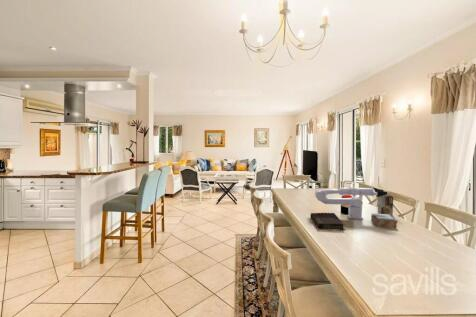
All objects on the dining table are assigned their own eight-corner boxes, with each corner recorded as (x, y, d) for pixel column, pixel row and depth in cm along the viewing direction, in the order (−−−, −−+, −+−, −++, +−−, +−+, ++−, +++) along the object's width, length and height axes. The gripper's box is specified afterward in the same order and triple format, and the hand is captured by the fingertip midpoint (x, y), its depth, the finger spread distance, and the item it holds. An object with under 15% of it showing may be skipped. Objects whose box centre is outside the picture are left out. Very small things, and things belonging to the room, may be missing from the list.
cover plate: (377, 219, 169) (377, 217, 169) (373, 215, 179) (373, 213, 179) (394, 221, 166) (394, 219, 166) (388, 216, 177) (388, 214, 177)
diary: (317, 230, 162) (317, 223, 162) (310, 218, 187) (310, 212, 187) (346, 230, 161) (346, 223, 160) (334, 219, 185) (334, 212, 185)
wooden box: (376, 226, 168) (376, 219, 167) (371, 220, 180) (371, 214, 180) (396, 228, 165) (396, 220, 164) (389, 222, 177) (390, 215, 177)
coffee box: (388, 213, 199) (389, 194, 198) (392, 216, 192) (393, 196, 192) (377, 213, 200) (377, 194, 199) (380, 215, 193) (381, 196, 192)
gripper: (368, 188, 179) (388, 188, 175) (363, 185, 193) (382, 185, 189) (367, 197, 179) (388, 198, 176) (363, 193, 193) (382, 194, 190)
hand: (385, 192), depth 182 cm, fingers open, 7 cm apart
